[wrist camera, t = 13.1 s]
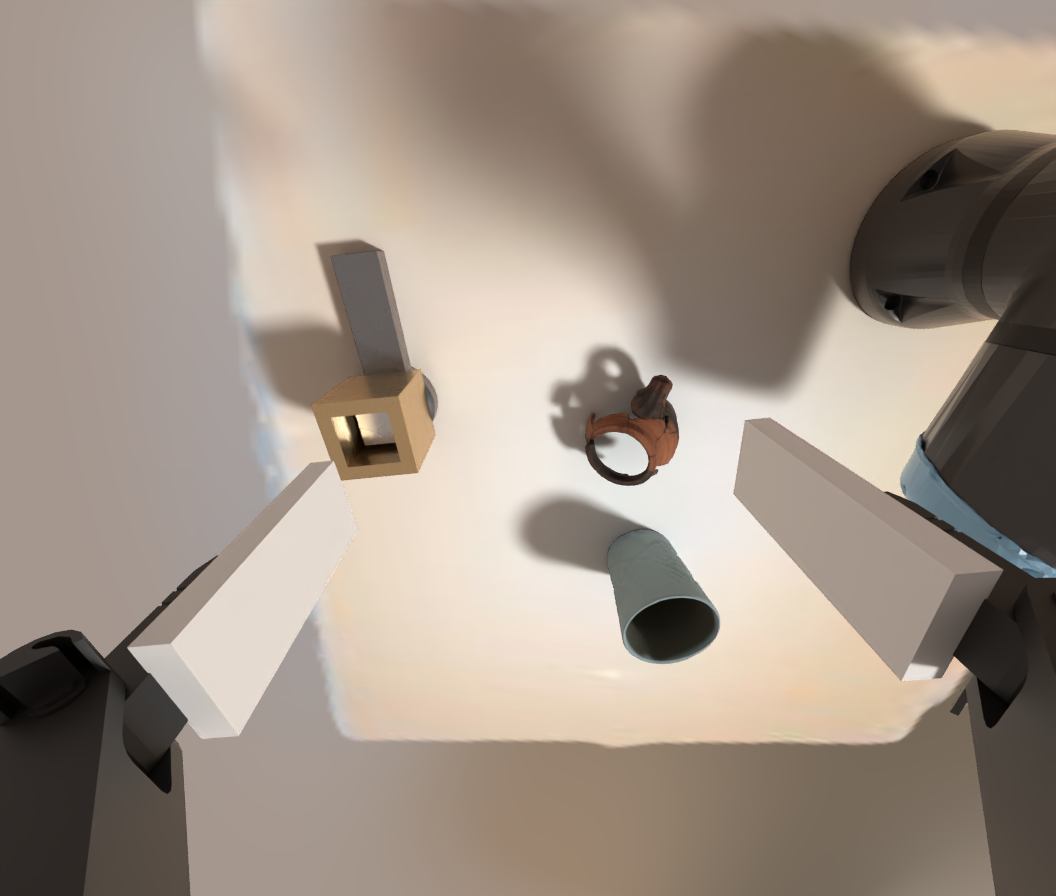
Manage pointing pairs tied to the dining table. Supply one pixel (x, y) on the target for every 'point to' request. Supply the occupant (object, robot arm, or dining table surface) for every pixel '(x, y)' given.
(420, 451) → the hollow square tube
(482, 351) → the dining table surface
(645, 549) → the grey green cup
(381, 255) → the grey handled bowl
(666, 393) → the ring-shaped clay flask
